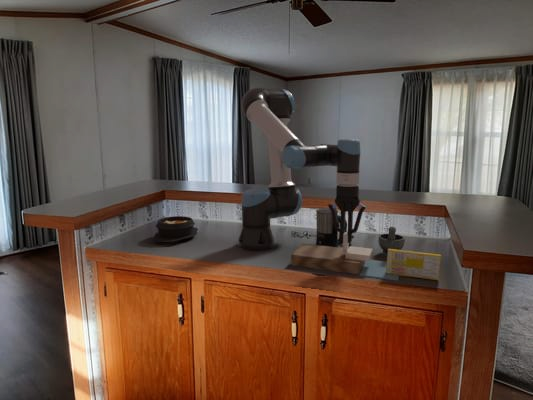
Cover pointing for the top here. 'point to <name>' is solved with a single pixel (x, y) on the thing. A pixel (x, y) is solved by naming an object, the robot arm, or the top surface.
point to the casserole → (174, 229)
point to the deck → (325, 259)
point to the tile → (359, 253)
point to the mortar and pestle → (391, 241)
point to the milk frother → (327, 229)
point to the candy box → (413, 264)
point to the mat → (377, 270)
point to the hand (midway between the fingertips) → (345, 250)
